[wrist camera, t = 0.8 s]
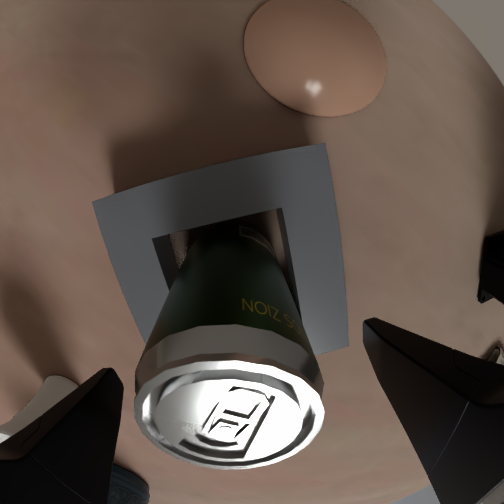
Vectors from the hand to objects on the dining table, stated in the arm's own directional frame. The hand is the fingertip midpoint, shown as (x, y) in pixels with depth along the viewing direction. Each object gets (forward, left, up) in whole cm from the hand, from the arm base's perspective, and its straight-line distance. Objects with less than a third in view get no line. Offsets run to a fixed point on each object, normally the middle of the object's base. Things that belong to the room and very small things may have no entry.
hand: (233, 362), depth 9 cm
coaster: (-8, -12, -9) cm, 17 cm away
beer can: (0, 0, -9) cm, 9 cm away
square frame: (0, 0, -9) cm, 9 cm away
